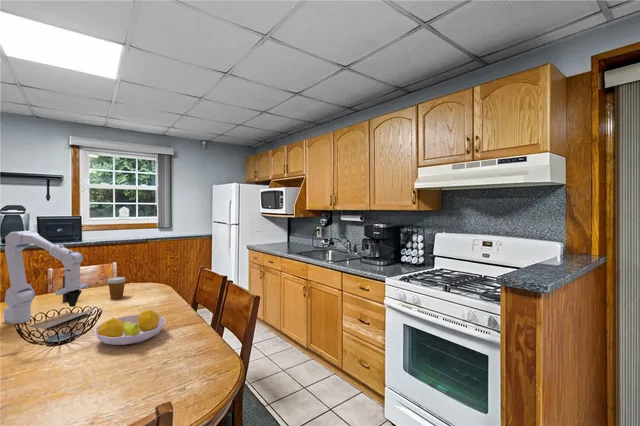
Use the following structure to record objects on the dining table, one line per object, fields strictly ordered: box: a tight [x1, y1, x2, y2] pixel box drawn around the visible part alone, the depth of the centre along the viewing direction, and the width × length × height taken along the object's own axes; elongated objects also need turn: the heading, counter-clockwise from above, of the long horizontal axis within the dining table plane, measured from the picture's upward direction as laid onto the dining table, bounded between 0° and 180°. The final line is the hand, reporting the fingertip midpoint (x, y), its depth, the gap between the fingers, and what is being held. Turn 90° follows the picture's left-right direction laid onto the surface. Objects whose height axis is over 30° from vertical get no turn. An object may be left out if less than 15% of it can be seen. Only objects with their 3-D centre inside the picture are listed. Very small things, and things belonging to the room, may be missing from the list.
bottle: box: [62, 274, 68, 304], centre depth 182 cm, size 7×7×20 cm
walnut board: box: [26, 311, 80, 329], centre depth 152 cm, size 7×20×1 cm, turn 170°
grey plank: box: [40, 308, 95, 330], centre depth 151 cm, size 8×20×1 cm, turn 170°
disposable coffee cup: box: [107, 276, 127, 300], centre depth 192 cm, size 10×10×12 cm
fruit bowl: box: [94, 309, 167, 346], centre depth 135 cm, size 28×27×11 cm
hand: (72, 306), depth 151 cm, fingers closed
